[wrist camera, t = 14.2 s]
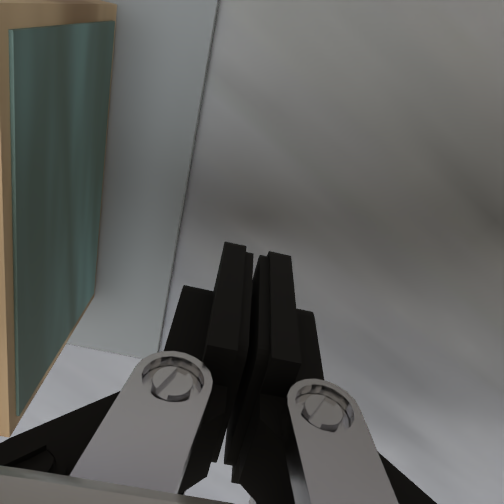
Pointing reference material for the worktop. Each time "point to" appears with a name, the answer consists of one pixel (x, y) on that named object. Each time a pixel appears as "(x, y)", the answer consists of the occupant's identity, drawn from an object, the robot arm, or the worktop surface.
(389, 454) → the worktop surface
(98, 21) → the block
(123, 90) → the mat
